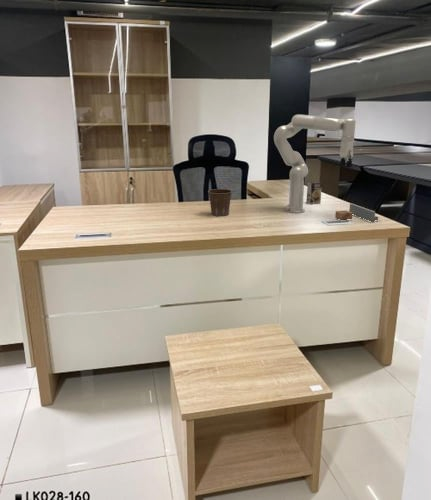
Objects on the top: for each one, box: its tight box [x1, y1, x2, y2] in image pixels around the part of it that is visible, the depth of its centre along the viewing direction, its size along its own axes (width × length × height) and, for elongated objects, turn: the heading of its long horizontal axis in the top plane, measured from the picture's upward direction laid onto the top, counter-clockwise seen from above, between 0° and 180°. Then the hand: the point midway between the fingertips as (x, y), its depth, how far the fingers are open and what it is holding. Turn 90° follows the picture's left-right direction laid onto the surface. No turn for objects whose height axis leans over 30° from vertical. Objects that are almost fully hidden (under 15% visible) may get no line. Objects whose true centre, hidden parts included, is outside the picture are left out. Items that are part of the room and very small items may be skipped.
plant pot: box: [207, 188, 233, 217], centre depth 288 cm, size 16×16×16 cm
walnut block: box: [334, 210, 353, 221], centre depth 276 cm, size 8×7×5 cm
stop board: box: [348, 203, 379, 223], centre depth 279 cm, size 6×26×7 cm, turn 15°
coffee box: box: [305, 181, 323, 205], centre depth 324 cm, size 9×6×16 cm
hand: (345, 166), depth 275 cm, fingers open, 9 cm apart
